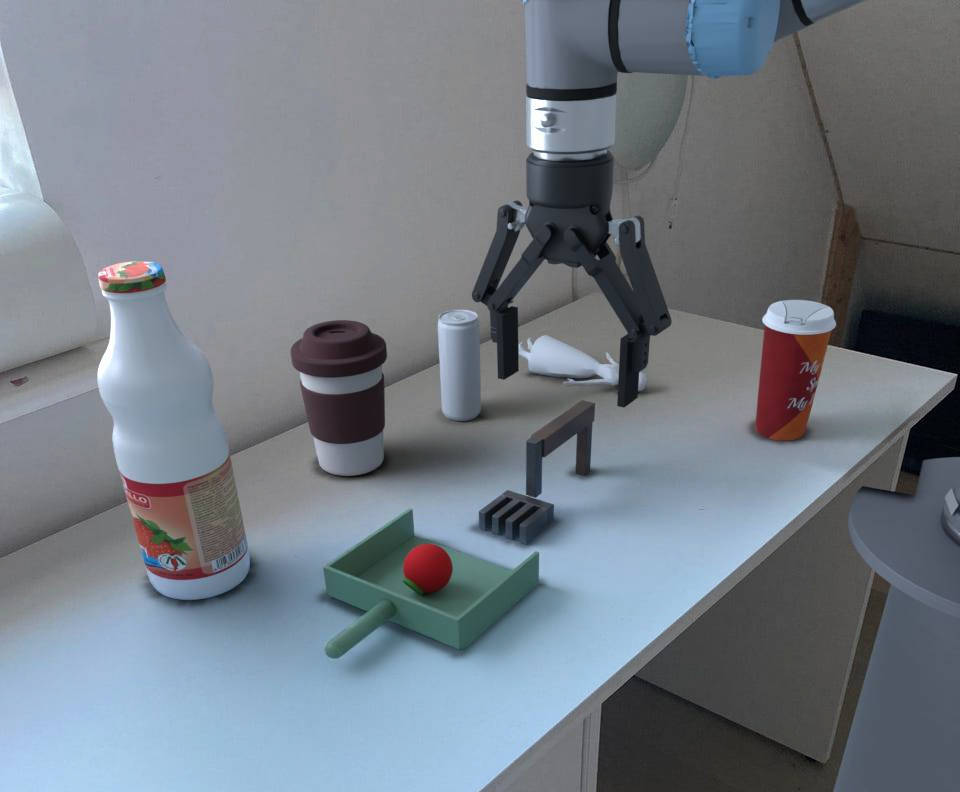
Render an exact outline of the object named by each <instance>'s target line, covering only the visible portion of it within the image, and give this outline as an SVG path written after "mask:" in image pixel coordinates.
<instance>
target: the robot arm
mask: <svg viewBox="0 0 960 792" xmlns="http://www.w3.org/2000/svg"><path fill="white" fill-rule="evenodd" d="M866 1H867V0H522V5H523V6H524V11H525V12H524V19H525V20H524V23H525V55H526V56H525V60H526V61H525V63H526V64H525V65H526V68H525V69H526V84H525V126H526V127H525V134H526V135H525V137H526V139H525V140H526V141H525V142H526V146H527V147H528V149H530V150H532V152H531V153H529V155H528V157H526V159H525V185H526V186H525V190H526V192H525V194H526V198H527V199H528V207H526V206H523V203H522V201H520V200H518V199H516V200H513V201H511V202H509V203H506V204H504V205H503V204H502V205H501V206H499V207H498V209H497V215H496V231H495V233H494V235H493V237H492V241H491V242H490V246H489V248H488V251H487V253H486V256H485V258H484V261H483V264H482V266H481V269H480V272H479V274H478V277H477V278H476V281H475V284H474V287H473V289H472V292H471V298H472V300H473V301H474V302H475V303H482V304H483V305H485V306H486V307H487V309H488V311H489V318H490V319H489V321H490V323H489V324H490V325H489V326H490V338H491V341H492V343H496V358H497V359H496V361H497V379H498V380H503V381H505V380H506V379H508V378H509V377H511V376H513V375H515V374H516V373H518V372H519V371H520V369H519V368H520V367H519V354H518V352H519V307H518V306H515V305H514V306H512V305H510V304H512V303H514V302H515V301H514V299H515V298H516V297H517V295H518V294H519V292H520V291H521V290H522V289H523V287H524V286H525V285H526V284H527V282H528V281H529V280H530V279H531V277H532V276H533V275H534V274H535V272H536V271H537V270H538V268H539V267H540V266H541V265H542V263H543V262H544V261H545V260H546V261H547V264H549V265H559V264H560V265H561V264H562V265H565V266H567V267H570V268H573V269H574V268H575V269H578V268H580V267H582V268H583V269H584V271H585V273H586V274H587V275H588V276H589V277H592V278H593V280H594V281H595V282H596V285H597V286H598V288H599V289H600V290H601V292H602V294H603V296H604V297H605V298H606V300H607V302H608V303H609V306H610V307H611V309H612V310H613V311H614V313H615V315H616V316H617V318H618V320H619V322H620V323H621V325H622V326H623V328H624V329H625V331H626V333H627V334H625V335H624V336H622V337H620V343H619V360H618V362H619V363H618V364H619V379H618V384H617V400H616V401H617V403H616V407H618V408H624V409H625V408H626V407H627V406H629V405H630V404H631V403H633V402H634V401H636V400H637V399H638V398H639V392H638V384H639V372H643V370H645V369H647V367H648V365H649V358H650V342H651V336H652V337H655V336H657V335H660V333H663V331H665V330H667V329H668V328H670V327H671V325H672V321H673V319H672V317H671V313H670V312H669V308H668V304H667V303H666V299H665V296H664V294H663V290H662V287H661V285H660V282H659V279H658V277H657V274H656V271H655V268H654V265H653V262H652V259H651V256H650V254H649V250H648V247H647V245H646V235H645V234H646V233H645V231H646V230H645V220H644V217H642V216H641V215H634V216H632V217H630V218H627V219H624V218H623V219H617V218H616V219H614V218H613V215H612V212H611V202H612V197H613V192H614V191H613V189H614V168H615V167H614V166H615V156H614V155H613V153H612V152H611V151H609V149H610V148H611V147H613V146H614V144H615V143H616V120H617V119H616V118H617V117H616V115H617V114H616V113H617V91H618V74H619V73H623V74H632V73H640V74H661V75H662V74H663V75H681V76H701V77H707V79H713V80H714V79H715V80H716V79H719V78H722V77H733V76H734V77H736V76H750V75H753V74H755V73H757V72H759V70H760V69H762V68H763V66H764V65H765V63H766V60H767V57H768V56H769V55H770V54H771V50H772V49H773V45H774V44H775V43H776V42H777V41H779V40H781V39H784V38H786V37H788V36H791V35H792V34H795V33H798V32H800V31H801V30H802V31H803V30H804V29H806V28H808V27H809V26H811V25H814V24H816V23H818V22H821V21H823V20H825V19H827V18H829V17H832V16H834V15H836V14H839V13H841V12H844V11H846V10H847V9H850V8H852V7H854V6H857V5H859V4H861V3H863V2H866ZM525 227H526V228H527V230H528V232H529V234H530V236H531V237H532V240H531V242H529V244H528V245H527V247H526V248H525V249H524V250H523V252H522V253H521V257H520V259H519V260H518V261H517V263H515V265H514V267H513V268H512V269H511V270H510V271H509V273H508V274H507V276H506V277H505V278H504V279H503V281H502V282H501V280H502V278H503V275H504V272H505V271H506V268H507V265H508V263H509V260H510V259H511V256H512V253H513V250H514V248H515V246H516V243H517V242H518V238H519V236H520V233H521V230H522V229H524V228H525ZM611 237H613V239H614V245H616V246H618V247H619V253H620V256H621V260H622V263H623V266H624V269H625V272H626V275H627V277H628V280H629V282H628V280H627V279H626V276H624V273H623V272H622V270H621V268H620V267H619V265H618V264H617V256H616V255H615V253H614V251H613V250H612V248H611V247H610V245H609V243H608V241H609V239H610V238H611ZM597 257H598V259H597ZM500 282H501V283H500ZM509 305H510V306H509ZM945 500H946V501H945V504H944V507H943V510H942V514H941V520H940V521H941V525H942V528H943V530H944V532H945V533H946V534H947V536H948V537H949V538H950V539H951V540H952V541H953V542H954V543H956V544H957V545H958V546H960V480H959V481H958V482H957V484H956V485H955V486H954V488H953V489H952V488H951V489H950V491H949V492H948V493H947V495H946V496H945Z"/></svg>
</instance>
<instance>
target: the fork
mask: <svg viewBox="0 0 960 792" xmlns="http://www.w3.org/2000/svg"><path fill="white" fill-rule="evenodd" d="M595 414H596V403H595V402H592V401H588V400H584V399H581V400H580V401H579V402H577V403H576V404H574V405H572V406H571V407H569V408H568V409H566V410H565V411H563V413H561V414H559V415H558V416H557V417H555V418H554V419H553V420H551V421H550V422H548V423H547V424H545V425H544V426H542V427H541V428H540V429H538V430H537V431H535V432H534V433H532V434H531V435H530V437H529V438H528V439H527V440H526V441H525V494H523V493H519V492H516V491H512V490H509V489H507V490H505V491H504V492H502V493H501V494H500V495H499V496H497V497H496V498H495V499H493V500H491V502H489V503H487V505H485V506H484V507H482V508H481V509H480V510H479V511H478V529H480V530H483V531H487V530H488V529H489V528H492V529H491V530H492V531H491V532H492V534H494V535H497V536H499V535H501V534H502V533H503V532H504V531H505V539H509V540H511V541H512V540H514V539H516V538H517V536H519V542H520V543H521V544H524V545H527V544H528V543H529V542H531V541H532V540H533V539H534V538H535V537H537V536H538V535H539V534H541V533H542V532H543V531H545V529H546V528H548V527H549V526H550V525H551V524H552V523H554V521H555V503H551V502H547V501H545V500H542V499H538V497H539V496H540V495H542V493H543V458H546V457H547V456H549V455H550V454H552V453H553V452H554V451H555V450H557V449H558V448H560V447H561V446H563V445H564V444H565V443H567V442H568V441H569V440H571V439H572V438H573V437H574V436H576V446H575V447H576V448H575V449H576V453H575V474H577V475H580V476H583V477H585V476H587V475H588V474H589V473H591V464H592V463H591V461H592V441H593V423H594V422H595V417H596V416H595Z"/></svg>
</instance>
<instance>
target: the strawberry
mask: <svg viewBox="0 0 960 792" xmlns="http://www.w3.org/2000/svg"><path fill="white" fill-rule="evenodd" d="M403 571H404V576H405V578H404V579H403V582H404V583H405V584H406V585H407V586H408V587H409V588H411V589H412V590H413V591H414V592H416V593H417V594H419V595H420V596H422V595H423V594H424V593H433V592H437V591H439V590H441V589H442V588H444V587H445V586H446V585H447V584H448V582H449V581H450V579H451V576H452V571H453V566H452V561H451V558H450V556H449V555H448V553H447V552H446V551H445V550H444V549H442V548H441V547H439V546H437V545H434V544H422V545H419V546H417V547H415V548H413V549H412V550H411V551H410V552H409V553H408V555H407V556H406V558H405V561H404V566H403Z"/></svg>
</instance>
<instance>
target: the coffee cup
mask: <svg viewBox="0 0 960 792" xmlns="http://www.w3.org/2000/svg"><path fill="white" fill-rule="evenodd" d="M387 350H388V347H387V342H386V340H385V338H383V337H382V336H380V335H379V334H377V333H375V332H372V331H371V329H370V327H369V326H368V325H367V324H366V323H363V322H361V321H356V320H350V319H349V320H348V319H336V320H329V321H328V320H327V321H323V322H318V323H315V324H313V325H311V326H309V327H307V329H305V331H304V332H303V335H302V337H301V338H300V339H298V340H296V341H295V342H294V343H293V344H292V345H291V347H290V352H289V353H290V360H291V365H292V366H293V368H294V369H295V370H296V371H298V372H299V376H300V380H299V387H300V392H301V396H302V401H303V406H304V409H305V413H306V418H307V424H308V427H309V431H310V434H311V436H312V438H313V442H314V447H315V452H316V456H317V461H318V464H319V466H320V468H321V469H322V470H324V472H326V473H329V474H330V475H333V476H341V477H354V476H361V475H365V474H367V473H371V472H372V471H374V470H376V469H377V468H379V467H380V466H381V465H382V463H383V461H384V459H385V458H384V457H385V448H384V447H385V445H384V429H385V426H386V404H385V403H386V400H385V395H386V394H385V375H384V373H383V364H385V363H386V361H387V359H388V351H387Z"/></svg>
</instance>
